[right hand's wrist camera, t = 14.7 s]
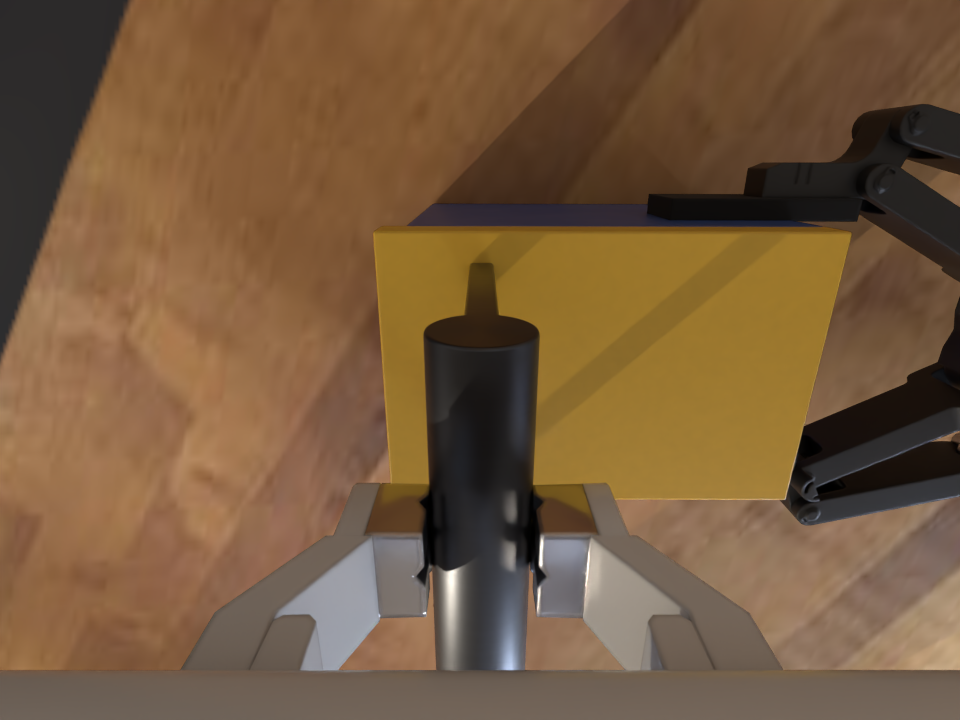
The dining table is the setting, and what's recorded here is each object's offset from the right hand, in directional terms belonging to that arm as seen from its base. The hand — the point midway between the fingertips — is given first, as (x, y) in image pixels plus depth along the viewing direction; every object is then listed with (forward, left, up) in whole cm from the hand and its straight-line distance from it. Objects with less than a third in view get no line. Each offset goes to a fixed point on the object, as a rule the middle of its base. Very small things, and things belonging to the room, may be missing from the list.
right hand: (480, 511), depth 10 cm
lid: (-2, -3, -8) cm, 9 cm away
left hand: (-3, -6, -11) cm, 13 cm away
